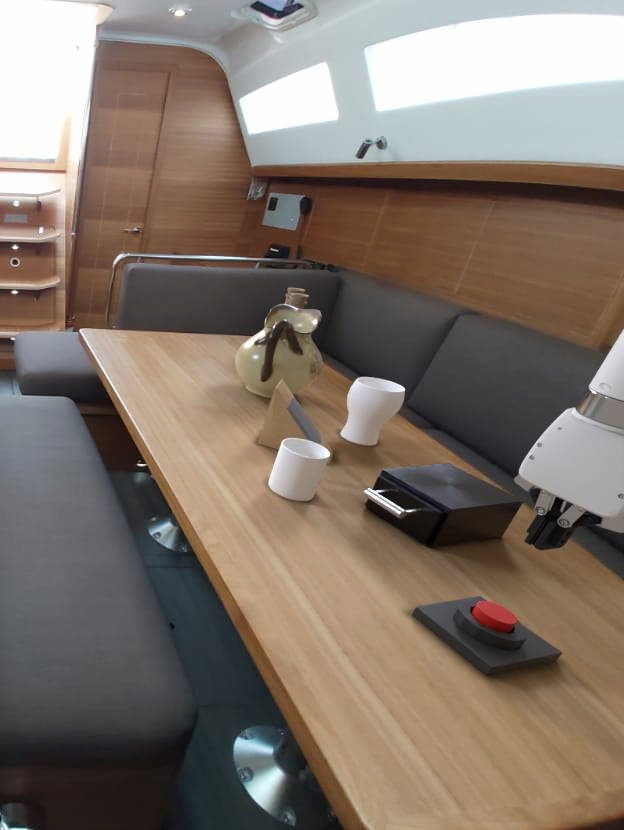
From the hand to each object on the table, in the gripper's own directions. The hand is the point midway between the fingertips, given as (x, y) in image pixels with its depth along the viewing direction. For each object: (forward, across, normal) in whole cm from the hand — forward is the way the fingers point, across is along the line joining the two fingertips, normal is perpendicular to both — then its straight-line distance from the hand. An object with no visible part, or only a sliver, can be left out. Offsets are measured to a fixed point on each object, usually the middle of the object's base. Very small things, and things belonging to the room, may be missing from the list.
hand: (540, 544), depth 62 cm
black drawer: (+16, +23, -16) cm, 32 cm away
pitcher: (+17, +84, -35) cm, 93 cm away
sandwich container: (+17, +52, -16) cm, 57 cm away
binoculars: (+17, +109, -59) cm, 125 cm away
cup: (+17, +54, -36) cm, 67 cm away
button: (+13, 0, 0) cm, 13 cm away
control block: (+17, 0, 0) cm, 17 cm away
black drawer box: (+17, +23, -20) cm, 35 cm away
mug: (+17, +38, -2) cm, 42 cm away
